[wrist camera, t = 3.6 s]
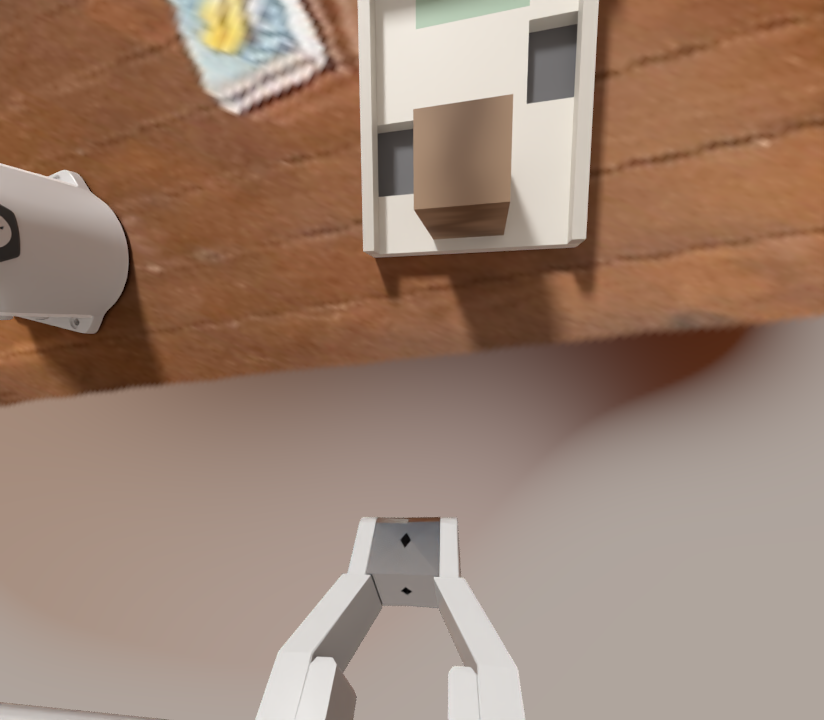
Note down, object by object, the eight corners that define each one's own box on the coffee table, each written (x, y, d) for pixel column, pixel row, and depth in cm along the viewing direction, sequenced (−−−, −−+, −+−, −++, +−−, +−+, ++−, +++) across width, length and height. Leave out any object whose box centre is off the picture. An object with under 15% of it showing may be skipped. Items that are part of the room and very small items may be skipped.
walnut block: (433, 239, 29) (413, 209, 21) (433, 167, 28) (413, 109, 20) (503, 235, 28) (510, 201, 20) (505, 159, 27) (513, 93, 19)
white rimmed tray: (374, 257, 32) (356, 247, 27) (369, -21, 29) (348, -82, 25) (575, 247, 28) (592, 233, 23) (591, -77, 25) (614, -161, 21)
